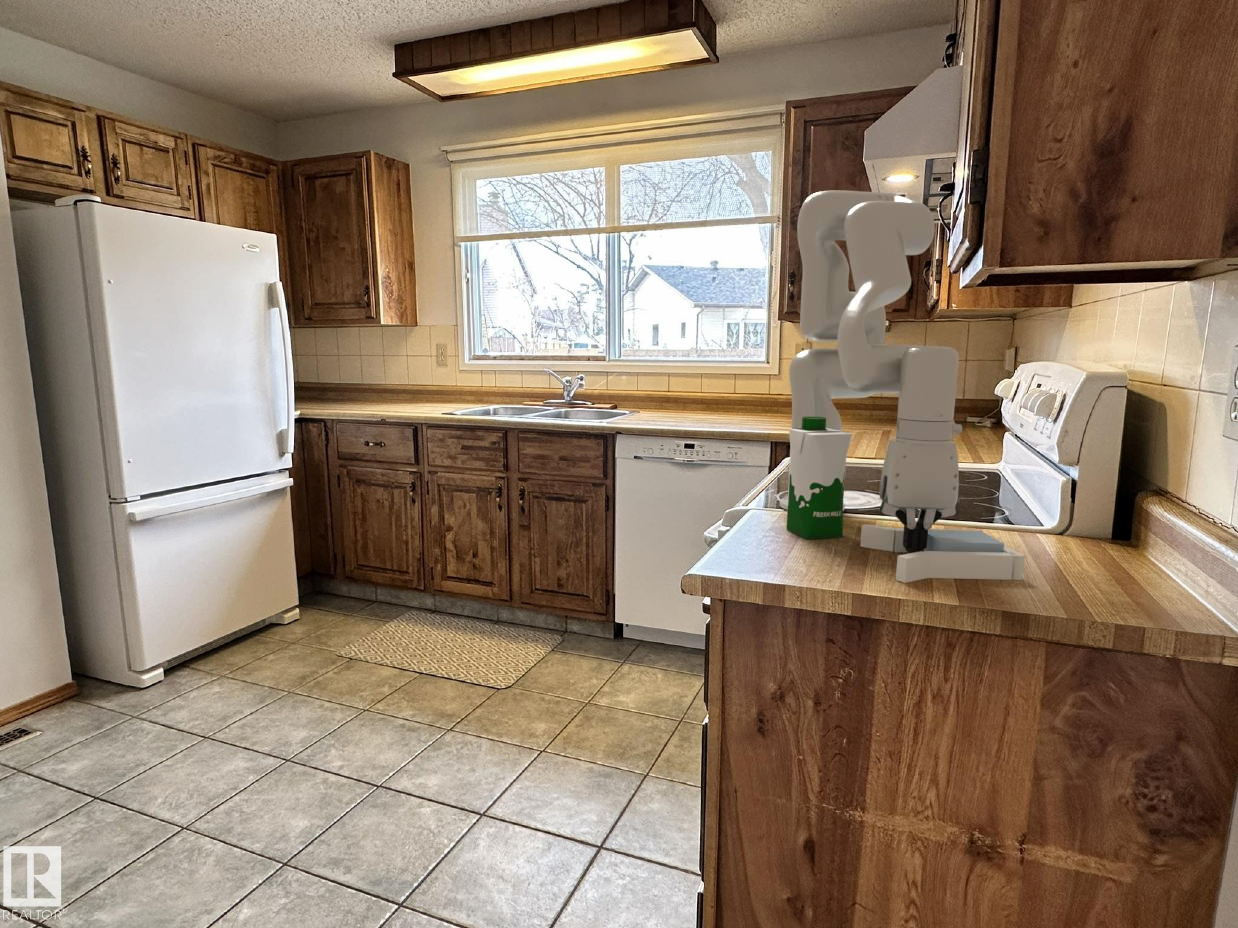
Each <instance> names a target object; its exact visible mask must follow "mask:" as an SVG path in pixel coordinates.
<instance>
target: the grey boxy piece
mask: <svg viewBox="0 0 1238 928" xmlns="http://www.w3.org/2000/svg"><path fill="white" fill-rule="evenodd" d="M967 530H968V529H962V530H928V537H927V547H926V549H924V551H948V552H997V553H1003V551H1004V545H1005V543H1004V542H1003V541H1000V540H999V539H998V538H995V537H993V536H991V535H989V534H987V533H986V532H984V531H982V530H979V531H967Z"/></svg>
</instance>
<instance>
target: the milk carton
mask: <svg viewBox="0 0 1238 928" xmlns="http://www.w3.org/2000/svg"><path fill="white" fill-rule="evenodd" d="M788 435H789V445H790V447H789V448H790V449H791V459H790V458H789V467H790V478H789V477H788V486H789V497H788V496H787V497H788V510H787V513H786V515H787V516H786V528H785V529H786V530H788V531H790V532H791V533H793V534H796V535H798V536H800V537H802V538H803V539H806V540H816V539H817V540H818V539H829V538H843V537H844V511H843V503H844V496H845V484H846V482H845V481H846V479H845V478H846V465H847V457H848V453H849V452H848V451H849V447H850V445H851V441H852V438H853V433H851V432H846V431H844V430H842V429H841V430H834V429H829V428H826V418H824V417H802V428H795V429H791V428H789V434H788Z"/></svg>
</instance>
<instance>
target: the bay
mask: <svg viewBox="0 0 1238 928" xmlns="http://www.w3.org/2000/svg"><path fill="white" fill-rule="evenodd" d="M929 530H963V529H961V528H960V529H959V528H957V529H950V528H945V529H944V528H931V529H929ZM966 530H967V531H980V530H979V529H966ZM903 534H904V527H903V528H902V527H901V528H900V527H899V528H898V527H888V526H882V525H873V524H866V523H863V524H862V525H861V532H860V547H862V548H866V549H867V548H868V549H872V550H878V551H879V550H880V551H885V552H886V551H887V552H894V553H905V554H900V555H897V558H896V559H897V560H896V571H895V572H896V573H895V580H896V581H898V582H901V583H903V584H906V583H907V584H908V583H910V582H911V583H912V582H915V581H916V582H917V581H921V580H925V579H951V580H953V579H959V580H960V579H962V580H998V581H999V580H1002V581H1003V580H1004V581H1005V580H1006V581H1011V580H1012V581H1023V575H1024V574H1023V572H1024V566H1025V565H1024V563H1025V555H1023V554H1021V553H1020V552H1018V551H1016V550H1014V549H1013V548H1011V547H1009V546H1007V545H1006V544H1004V551H1003V553H997V552H948V551H924V552H923V551H920V552H915V553H908V552H907V551H906V550H905V548H904V547H903Z"/></svg>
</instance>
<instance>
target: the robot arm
mask: <svg viewBox="0 0 1238 928" xmlns="http://www.w3.org/2000/svg"><path fill="white" fill-rule="evenodd" d="M796 226H797V228H796V229H797V230H796V231H797V232H796V233H797V235H796V236H797V243H798V248H799V252H800V257H801V263H802V264H801V265H802V279H801V292H800V293H801V294H800V295H801V296H800V299H801V300H800V314H799V315H800V316H799V317H800V318H799V319H800V321H799V324H800V325H799V327H800V330H801V333H802V335H803V337H804V338H806V339H807V340H810V341H813V342H826V343H827V342H828V343H829V342H831V343H833V342H834V343H835V342H836V343H837V344H836V345H837V348H811V349H810V348H809V349H805V350H803V351H800V352H799V353H797V354H796V355H794V357H793V358H792V359H791V362H790V364H789V372H788V373H789V375H788V376H789V385H790V394H791V428H790V429H795V428H802V417H824V418H826V428H829V429H834V430H841V431H842V429H843V426H842V418H841V415H840V413H839V411H838V410H837V407H835V405H834V403H833V401H832V400H833V399H861V398H862V399H863V398H869V397H871V396H872V395H874V394H878V395H879V394H895V395H896V394H897V395H898V404H897V420H896V429H895V430H896V433H895V434H896V435H895V438H890V439H889V441H888V444H887V446H886V451H885V457H884V460H883V465H882V471H881V477H880V482H879V483H880V484H879V497H880V498H879V499H880V500H881V504H880V506H879V511H880V512H881V513H883V514H884V515H887V516H891V517H895V518H897V519H898V521H899V522H900V523H901V524H902V525H903V528H904V534H903V547H904V548H905V550H906V551H907V552H906V553H907V554H910V553H915V552H920V551H923V552H924V549H926V547H927V537H928V530H929V529H933V528H932V527H933V525H934V524H935V523H936V522H938V520H940V519H942V518H947V517H952V516H954V515H956V512H957V511H956V505H957V502H958V497H959V484H960V480H959V477H960V476H959V474H960V473H959V471H960V470H959V469H960V468H959V458H958V450H957V443H956V442H955V441H953V439H954V435H956V434H962V432H963V425H962V424H958V423H955V420H954V416H955V406H956V396H957V394H956V393H957V383H958V373H959V372H958V371H959V361H960V356H959V353H958V351H957V350H956V349H955V348H954V347H950V346H941V345H938V346H937V345H936V346H935V345H933V346H932V345H921V344H920V345H917V344H888V343H887V344H885V341H886V329H887V324H886V323H887V315H886V313H887V312H886V308H885V306H887V305H890V304H892V303H894V302H896V301H897V300H898V299H900V298H902V297H903V296H904V295H905V294H906V293H908V291H909V290H910V288H911V285H912V277H911V273H910V268H909V264H908V260H907V256H917V255H921V254H923V253H924V252H926V250H928V248H929V247H930V246H931V244H932V242H933V240H934V237H935V232H936V231H935V228H936V225H935V219H934V215H933V214H932V212H931V210H930V209H929V207H927V205H925V204H924V203H922V202H920V201H917V200H914V199H911V198H908V197H905V196H903V195H899V194H895V193H892V192H891V193H890V192H880V191H879V192H877V191H858V190H846V189H845V190H843V189H842V190H837V189H834V190H833V189H832V190H823V191H818V192H815V193H812V194H810V195H809V196H808V197H807V198H806V199H805V200H804V201H803V203H802V206H801V208H800V209H799V214H798V217H797V225H796ZM836 241H844V242H845V244H846V250H847V255H848V260H849V262H848V260H847V257H846V255H845V254H844V251H842V248H840V245H838V243H837V242H836ZM850 270H851V275H852V281H853V286H854V289H855V291H850V290H849V276H850ZM790 459H791V449H790V450H789V460H790ZM789 478H790V466H789V471H788V479H789ZM788 497H789V485H788V489H787V496H785V497H782V498H781V499H779V507H781V508H782V509H783V510H786V511H788ZM845 506H846V504H845V503H844V502H843V512H844V511H845ZM916 510H919V512H918V515H917V519H916Z"/></svg>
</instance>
